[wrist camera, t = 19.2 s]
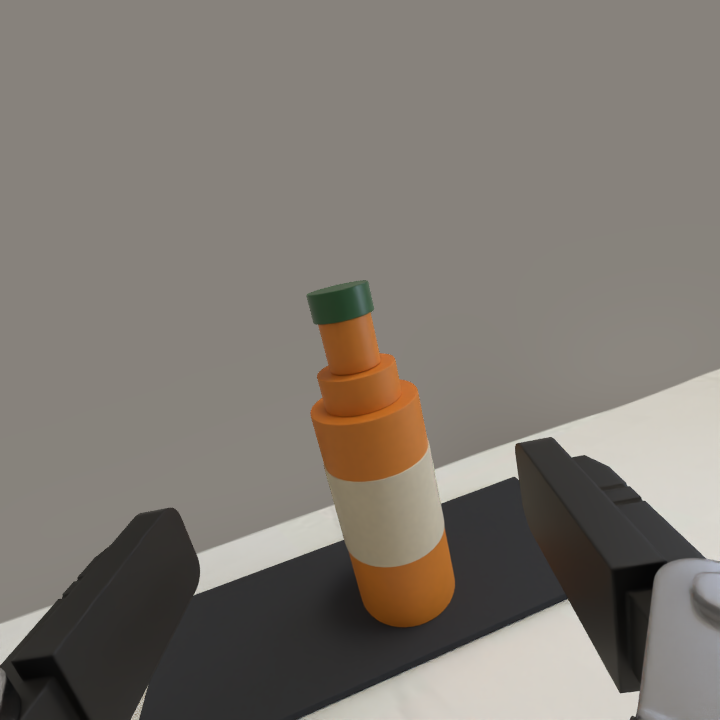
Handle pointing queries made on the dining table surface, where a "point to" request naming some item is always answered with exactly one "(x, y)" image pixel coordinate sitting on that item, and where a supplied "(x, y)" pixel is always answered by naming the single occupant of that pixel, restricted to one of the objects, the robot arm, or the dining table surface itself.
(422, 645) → the front mat
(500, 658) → the dining table surface
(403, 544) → the juice bottle
